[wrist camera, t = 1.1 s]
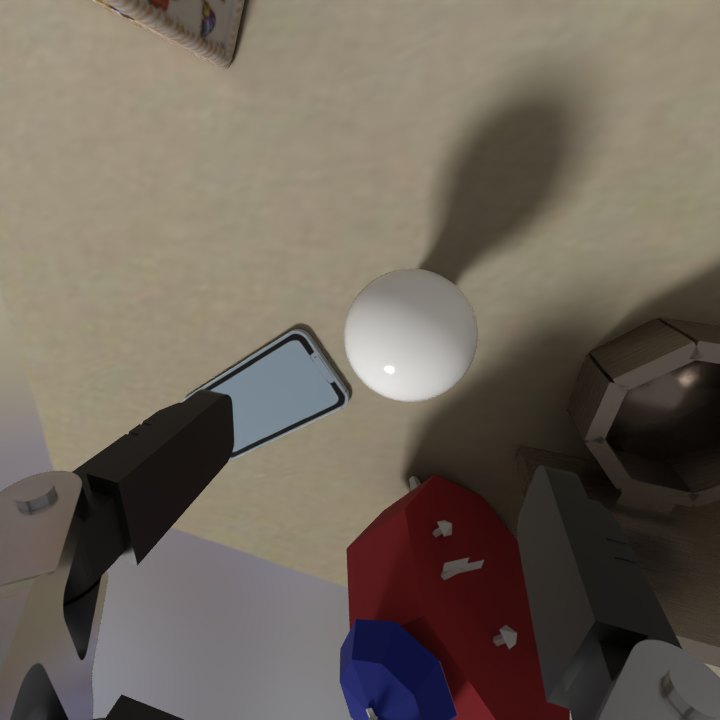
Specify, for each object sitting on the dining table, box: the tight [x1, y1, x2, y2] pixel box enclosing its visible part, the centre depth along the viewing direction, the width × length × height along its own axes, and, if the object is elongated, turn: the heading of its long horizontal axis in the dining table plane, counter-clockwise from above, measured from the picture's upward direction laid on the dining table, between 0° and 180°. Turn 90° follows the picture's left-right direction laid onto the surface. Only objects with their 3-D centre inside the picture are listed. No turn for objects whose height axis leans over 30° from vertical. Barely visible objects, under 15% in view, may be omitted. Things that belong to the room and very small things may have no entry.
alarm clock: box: [340, 475, 570, 720], centre depth 22 cm, size 15×9×20 cm, turn 50°
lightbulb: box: [344, 269, 478, 402], centre depth 20 cm, size 6×6×11 cm
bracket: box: [516, 318, 720, 667], centre depth 19 cm, size 12×14×12 cm
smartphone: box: [183, 329, 350, 459], centre depth 32 cm, size 7×1×15 cm
